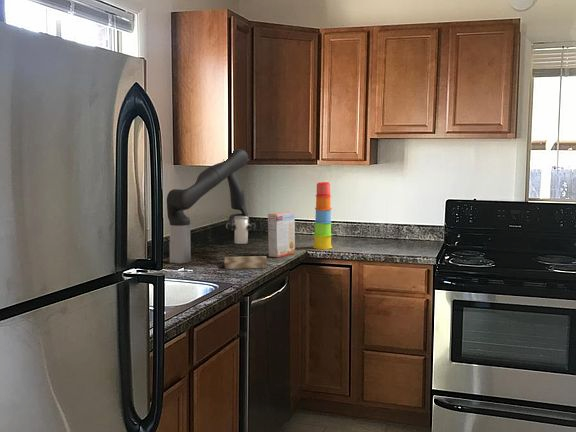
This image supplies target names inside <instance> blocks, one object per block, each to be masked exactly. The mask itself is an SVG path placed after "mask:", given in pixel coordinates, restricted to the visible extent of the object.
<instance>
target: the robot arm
mask: <svg viewBox="0 0 576 432" xmlns="http://www.w3.org/2000/svg"><path fill="white" fill-rule="evenodd" d="M234 149H235V150H234V151H233V153H231V154H230V156H229V159H227V160H226V161H224V160H223V161H220V162H219V163H216V164H213V165H211V166H209V167H207V168H206V169H204V170H203V171H201V172H200V173H198V175H197V178H196V181H195V183H194V184H192V185H191V186H189V187H188V188H185V189H181V188H180V189H179V188H175V189H174V188H173V189H171V190H170V191H168V193H167V196H166V212H167V219H168V223H169V245H168V246H169V263H170V264H188V263H191V262H192V261H191V260H192V259H191V258H192V256H191V219H190V217H188V216H187V215H186V214H185V213H184V211H185V210H189V209H190V208H192V207H193V206H194V205H195V204H196V203H197V202H198V201H199V200H200V199H201V198H202V197H203V196H204V195H206V194H208V193H209V192H210V191H211V190H213V189H214V188H215V187H217V186H218V185H219V184H221V182H223V181H224V180H225V179H227V182H228V188H229V195H230V206H231V207H230V208H231V209H232V210H237V211H240V212H241V213H234V214H230V215H229V217H228V219H227V220H228V221H227V222H226V223H225V228H226V229H227V230H229V231H230V230H232V231H235V218H234V216H248V231H251V230H253V231H254V230H255V229H256V223H255V222H252V223H250V218H249V215H248V211H247V209H246V204H245V191H244V189H243V186H242V184H241V182H240V180H239V178H238V175H237V171H238V170H241V169H242V168H244V167H245V166H246V165H247V164H248V161H249V155H248V153H247V151H245V150H244V149H241V148H237V149H236V148H234Z"/></svg>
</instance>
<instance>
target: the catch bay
mask: <svg viewBox="0 0 576 432" xmlns="http://www.w3.org/2000/svg"><path fill="white" fill-rule="evenodd" d="M267 259H268V258H267V255H266V256H265V255H264V256H263V255H258V256H224V269H225V270H226V269H227V270H230V269H231V270H232V269H233V270H234V269H240V270H241V269H267V268H268V267H267V265H268V264H267V262H268V261H267Z"/></svg>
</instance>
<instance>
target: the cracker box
mask: <svg viewBox="0 0 576 432" xmlns="http://www.w3.org/2000/svg"><path fill="white" fill-rule="evenodd" d="M295 217H296V216H295V212H294V211H292V212H291V211H283V212H274V213H268V214H267V234H268V239H267V240H268V241H267V242H268V244H267V245H268V257H269V258H281V257H286V256H291V255H295V254H296V243H295V242H296V239H295V238H296V235H295V234H296V232H295V231H296V227H295V225H296V224H295V223H296V222H295V221H296V220H295Z"/></svg>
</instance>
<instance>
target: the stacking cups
mask: <svg viewBox="0 0 576 432" xmlns="http://www.w3.org/2000/svg"><path fill="white" fill-rule="evenodd" d="M331 197H332V195H331V184H330V182H329V181H328V182H325V181H323V182H321V181H320V182H317V184H316V194H315V207H314V209H315V220H314V233H313V235H314V241H313V246H312V248H313V249H316V250H317V249H318V250H330V248H331V249H333V246H332V236H333V233H332V222H333V221H332V218H331V216H332V213H331V212H332V207H331Z"/></svg>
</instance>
